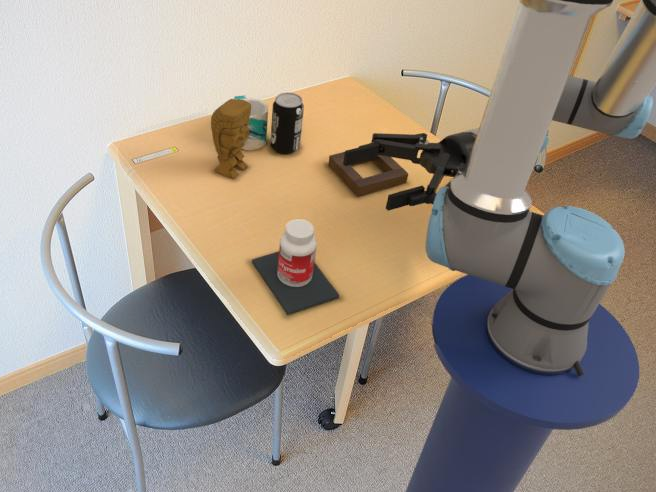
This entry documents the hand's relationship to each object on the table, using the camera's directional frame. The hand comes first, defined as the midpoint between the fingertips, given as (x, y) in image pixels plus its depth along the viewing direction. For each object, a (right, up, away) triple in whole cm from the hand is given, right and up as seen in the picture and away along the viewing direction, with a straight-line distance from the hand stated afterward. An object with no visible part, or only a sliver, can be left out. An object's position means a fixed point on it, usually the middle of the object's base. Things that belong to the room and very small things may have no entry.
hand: (365, 179), depth 108 cm
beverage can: (-12, +12, +37) cm, 41 cm away
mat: (-11, -17, +7) cm, 21 cm away
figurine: (-24, +6, +31) cm, 39 cm away
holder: (+5, +5, +31) cm, 32 cm away
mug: (-20, +15, +40) cm, 48 cm away
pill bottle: (-11, -16, +7) cm, 21 cm away
